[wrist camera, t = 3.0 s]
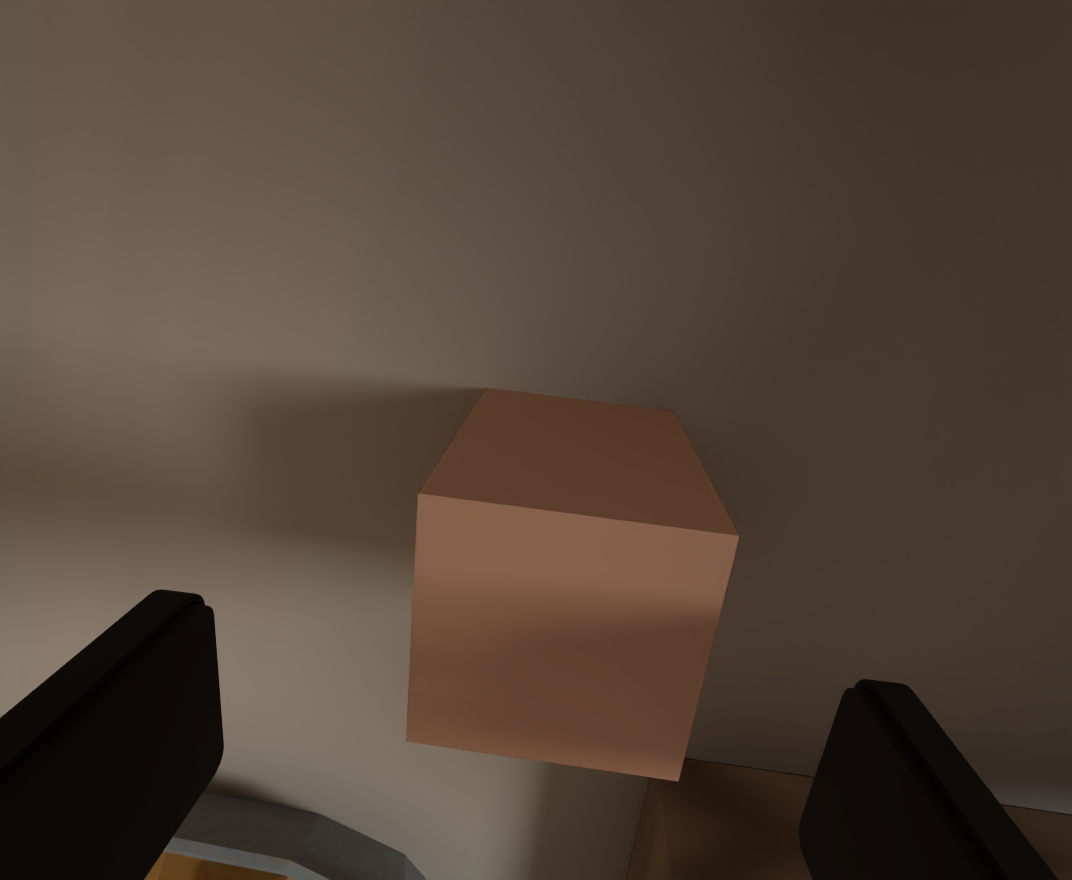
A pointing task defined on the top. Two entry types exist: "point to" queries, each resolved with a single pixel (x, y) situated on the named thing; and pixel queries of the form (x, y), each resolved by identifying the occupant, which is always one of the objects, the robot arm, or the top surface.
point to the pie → (273, 846)
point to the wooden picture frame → (764, 827)
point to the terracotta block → (566, 586)
